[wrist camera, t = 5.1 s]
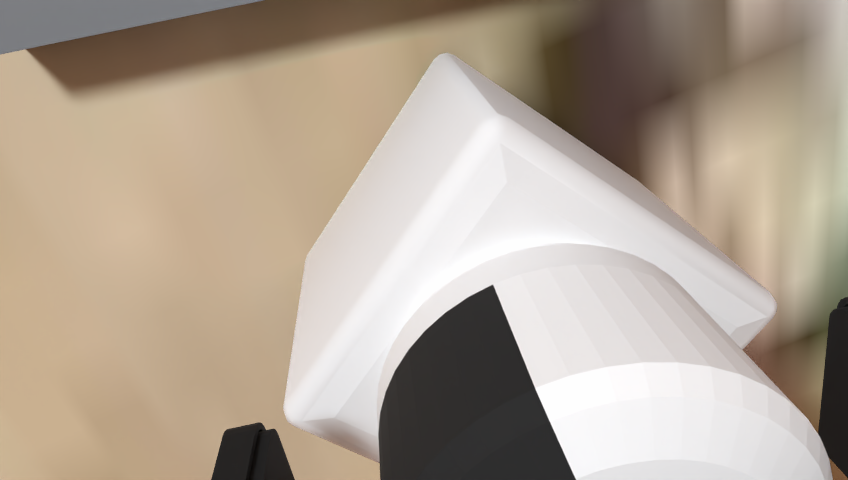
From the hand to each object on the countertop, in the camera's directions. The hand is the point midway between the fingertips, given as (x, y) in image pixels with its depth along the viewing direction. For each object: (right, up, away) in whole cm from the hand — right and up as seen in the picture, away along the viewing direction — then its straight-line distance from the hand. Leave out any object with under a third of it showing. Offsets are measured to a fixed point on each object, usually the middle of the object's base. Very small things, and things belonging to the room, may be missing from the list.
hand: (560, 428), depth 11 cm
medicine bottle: (-1, +4, +8) cm, 9 cm away
